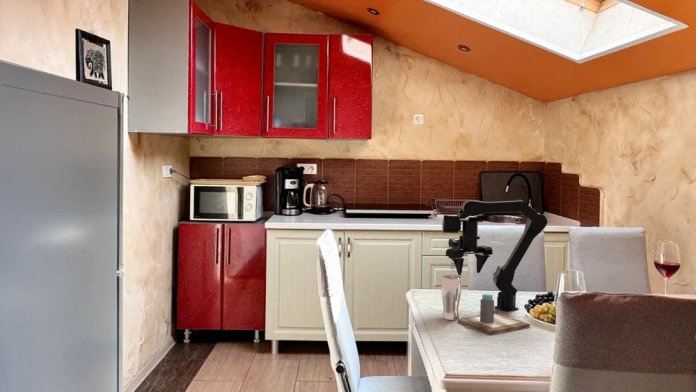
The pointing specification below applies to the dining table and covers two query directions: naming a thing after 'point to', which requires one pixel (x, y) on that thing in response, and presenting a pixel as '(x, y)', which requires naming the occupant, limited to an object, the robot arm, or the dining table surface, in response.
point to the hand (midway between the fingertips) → (468, 274)
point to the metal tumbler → (451, 296)
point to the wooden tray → (494, 324)
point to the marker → (487, 309)
